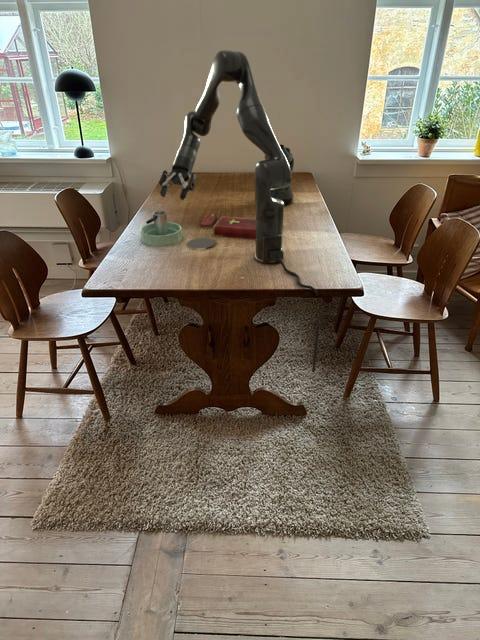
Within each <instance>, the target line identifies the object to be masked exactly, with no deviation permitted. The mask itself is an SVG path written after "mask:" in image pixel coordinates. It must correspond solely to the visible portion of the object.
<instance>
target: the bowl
mask: <svg viewBox="0 0 480 640" xmlns="http://www.w3.org/2000/svg"><path fill="white" fill-rule="evenodd" d="M167 226H168V235H161V236H156V235H155V230H154V222H151V223H149V224H147V223H146V224H145V225H143V226H142V227H141V228H140V238H141V243H143V244H144V245H147V246H152V247H166V246H167V247H168V246H172V245H175V244H177V243H179V242H181V241H182V240H183V227H182V225H180V224H179V223H176V222H171V221H167Z"/></svg>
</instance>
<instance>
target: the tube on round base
mask: <svg viewBox="0 0 480 640" xmlns="http://www.w3.org/2000/svg"><path fill="white" fill-rule="evenodd" d="M167 216H168V215H167V212H166V211H165V210H156V211H154V212H152V217H151V218H149V219H147V220H146V221H145V223H146V225H147V224H150V223H154V230H155V235H156V236H161V235H168V226H167V222H168V217H167Z"/></svg>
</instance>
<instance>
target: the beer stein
mask: <svg viewBox="0 0 480 640" xmlns="http://www.w3.org/2000/svg"><path fill="white" fill-rule="evenodd" d="M279 146H280V148H281V150H282V151H283V153H284V155H285V157H286V159H287V161H288V163H289V166H290V169H291V174H292V173H293V171H294V166H295V159H294V157H293V154H292V152H291V149H290V148H289V147H286V146H285V145H284V144H279ZM264 160H268V159H267V157H266V155H265V154H264ZM292 186H293V185H292V182H291V183H290V185H289V186H288V187H285V188H281V189H275V190H270V192H271V197H274V198H278V199H280V200H282V201H283V202H284V207H285V206H289V205H291V204H292V203H293V201H294V197H295V195H294V191H293V187H292Z"/></svg>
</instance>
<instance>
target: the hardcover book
mask: <svg viewBox="0 0 480 640" xmlns="http://www.w3.org/2000/svg"><path fill="white" fill-rule="evenodd" d="M212 228H213V230H212V232H213V235H215V236H222V237H226V238H236V239H246V240H248V239H249V240H256V218H249V217H248V218H247V217H233V216H224V215H222V216H221V217H220V218H219V219H218V220H217V221H216V222H215V223H214V225H213V227H212Z"/></svg>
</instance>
